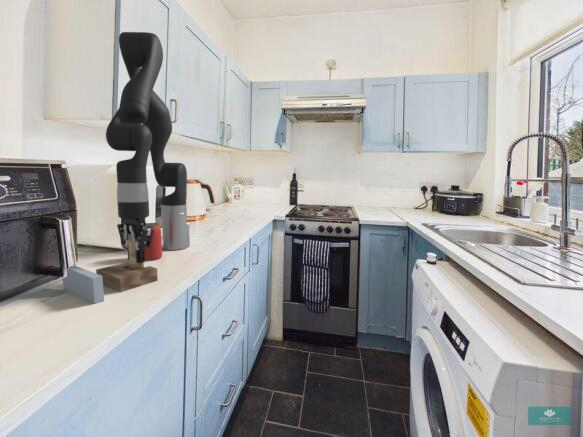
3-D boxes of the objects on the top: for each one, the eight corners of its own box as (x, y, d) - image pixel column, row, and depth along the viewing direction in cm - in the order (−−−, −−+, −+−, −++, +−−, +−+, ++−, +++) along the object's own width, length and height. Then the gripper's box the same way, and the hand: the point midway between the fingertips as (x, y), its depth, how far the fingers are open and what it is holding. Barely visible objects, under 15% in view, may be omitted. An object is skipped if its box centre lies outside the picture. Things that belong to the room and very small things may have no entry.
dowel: (139, 272, 86) (137, 232, 85) (146, 275, 85) (144, 233, 83) (127, 276, 84) (125, 234, 82) (134, 278, 82) (132, 235, 80)
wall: (72, 285, 78) (70, 263, 77) (104, 300, 70) (102, 276, 69) (63, 288, 76) (61, 265, 75) (94, 303, 68) (92, 278, 67)
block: (133, 272, 89) (132, 260, 89) (157, 280, 83) (156, 268, 83) (97, 281, 81) (96, 269, 81) (121, 291, 75) (120, 278, 74)
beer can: (144, 262, 100) (142, 226, 98) (139, 257, 105) (137, 223, 103) (164, 258, 104) (163, 224, 102) (159, 254, 109) (157, 222, 107)
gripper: (161, 200, 81) (164, 262, 83) (131, 197, 88) (135, 254, 90) (134, 202, 74) (138, 269, 77) (104, 199, 82) (109, 260, 84)
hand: (136, 261), depth 84 cm, fingers closed on dowel, 3 cm apart
